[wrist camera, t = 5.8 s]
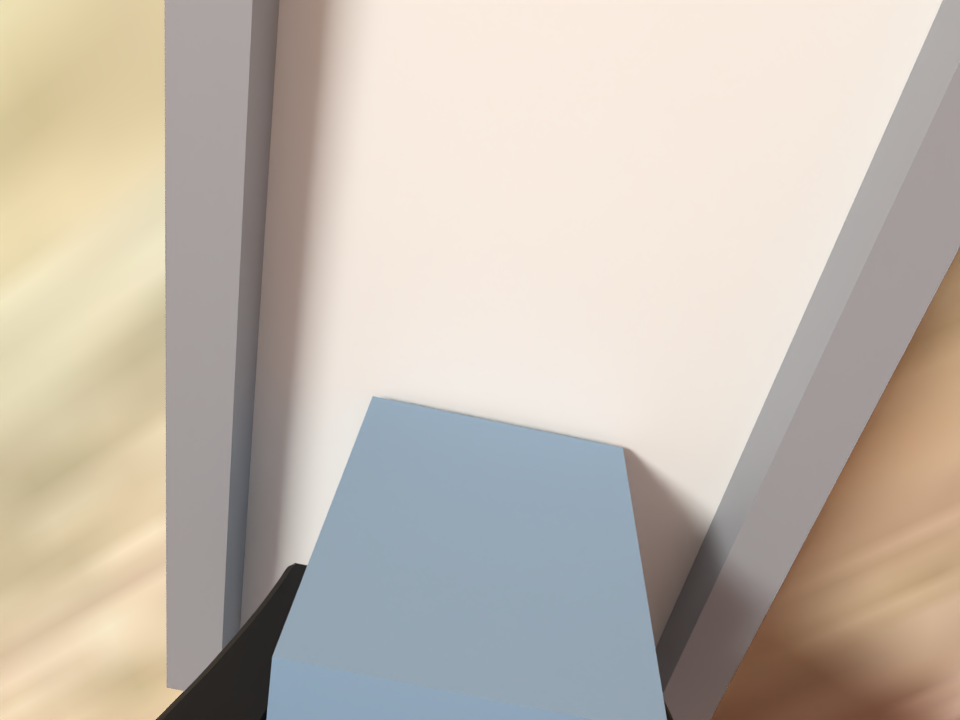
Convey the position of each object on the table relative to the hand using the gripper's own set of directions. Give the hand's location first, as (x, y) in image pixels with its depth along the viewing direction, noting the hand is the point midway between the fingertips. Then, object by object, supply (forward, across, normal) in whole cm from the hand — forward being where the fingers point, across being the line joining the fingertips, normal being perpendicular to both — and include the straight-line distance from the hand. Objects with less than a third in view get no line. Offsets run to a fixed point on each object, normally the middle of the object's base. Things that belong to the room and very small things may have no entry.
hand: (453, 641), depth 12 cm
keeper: (+2, 0, 0) cm, 2 cm away
